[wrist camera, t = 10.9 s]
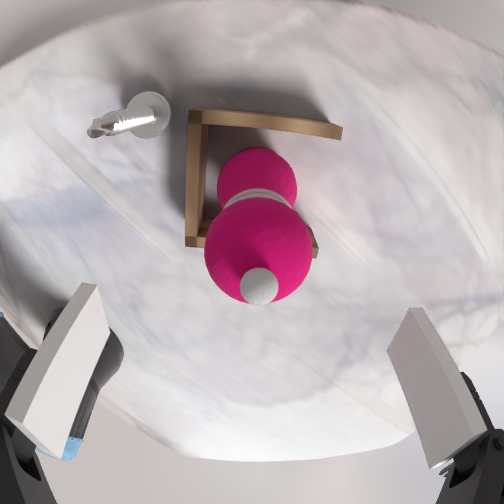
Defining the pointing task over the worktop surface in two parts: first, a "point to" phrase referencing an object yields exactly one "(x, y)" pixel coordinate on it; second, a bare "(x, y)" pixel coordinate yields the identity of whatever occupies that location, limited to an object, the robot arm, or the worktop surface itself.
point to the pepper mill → (257, 230)
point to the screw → (135, 117)
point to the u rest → (198, 156)
